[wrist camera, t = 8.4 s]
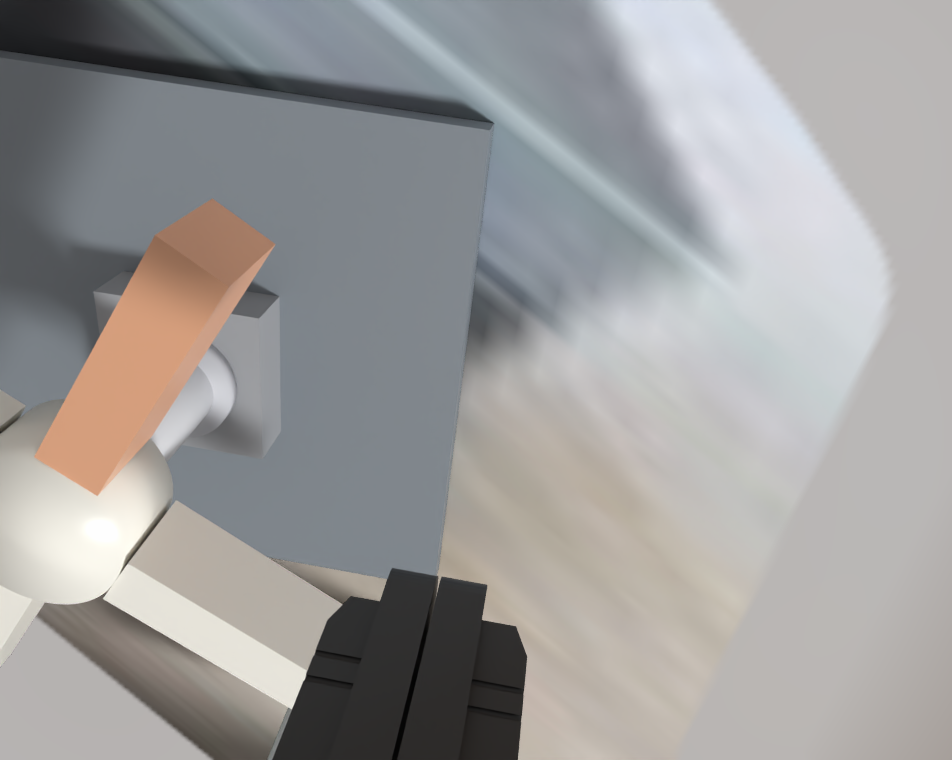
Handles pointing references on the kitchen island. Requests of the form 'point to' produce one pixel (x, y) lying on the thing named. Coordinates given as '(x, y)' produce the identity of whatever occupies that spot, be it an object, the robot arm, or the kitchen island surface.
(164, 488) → the star cap
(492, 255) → the kitchen island surface
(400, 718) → the robot arm
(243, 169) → the post board
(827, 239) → the kitchen island surface
